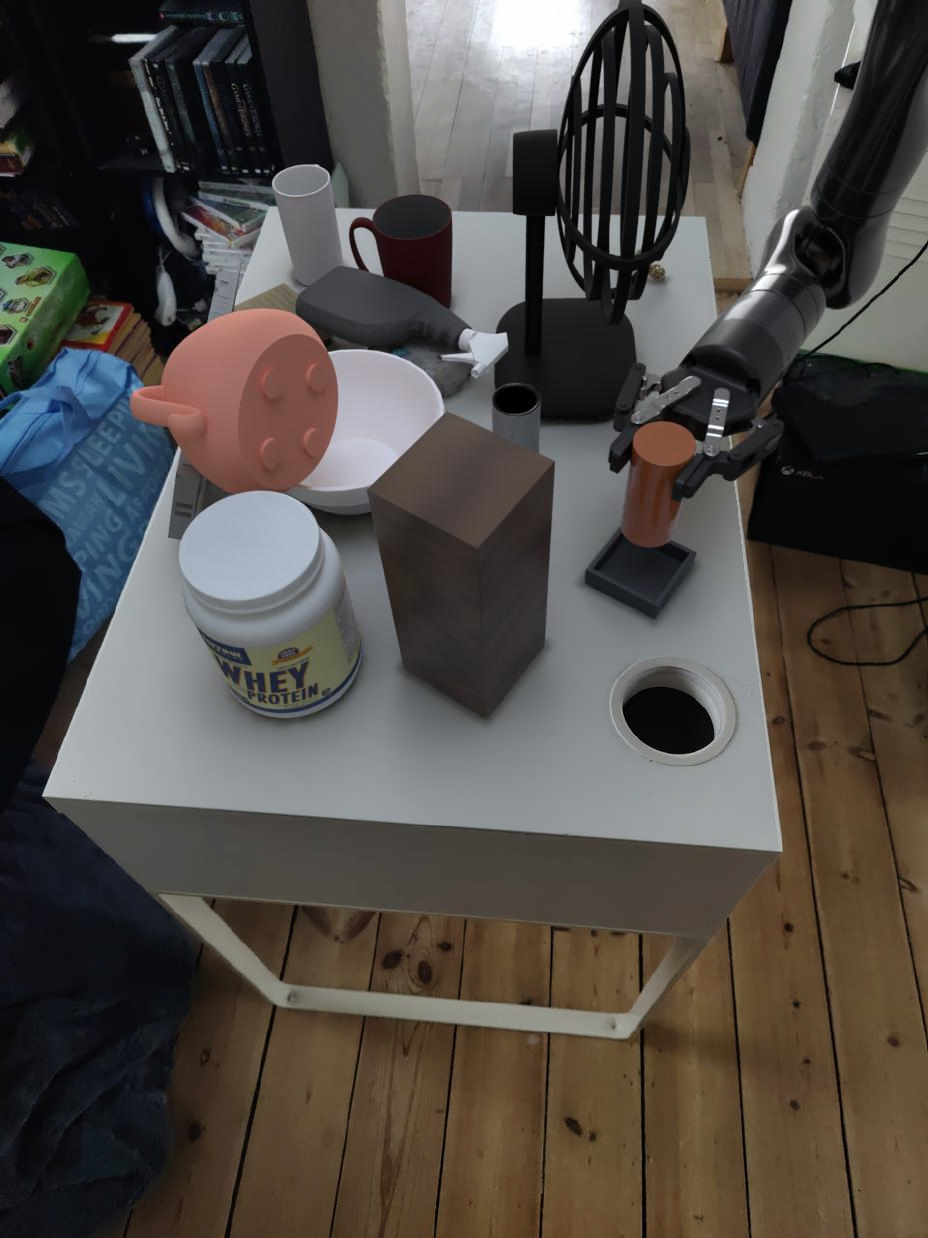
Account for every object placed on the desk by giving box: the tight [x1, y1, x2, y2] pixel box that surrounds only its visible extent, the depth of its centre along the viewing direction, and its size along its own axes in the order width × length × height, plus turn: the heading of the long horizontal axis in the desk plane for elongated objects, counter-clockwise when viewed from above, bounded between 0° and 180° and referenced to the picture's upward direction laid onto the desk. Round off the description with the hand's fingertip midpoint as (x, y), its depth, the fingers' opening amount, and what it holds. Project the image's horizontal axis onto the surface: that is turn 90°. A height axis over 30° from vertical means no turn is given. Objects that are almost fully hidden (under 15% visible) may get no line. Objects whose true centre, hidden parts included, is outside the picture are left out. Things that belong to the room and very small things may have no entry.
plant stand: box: [367, 410, 556, 720], centre depth 66 cm, size 9×9×23 cm
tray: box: [584, 526, 698, 620], centre depth 79 cm, size 7×7×2 cm
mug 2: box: [348, 194, 454, 310], centre depth 100 cm, size 12×9×11 cm
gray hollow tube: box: [491, 383, 541, 454], centre depth 83 cm, size 4×4×10 cm
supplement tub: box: [177, 491, 363, 719], centre depth 69 cm, size 12×12×17 cm
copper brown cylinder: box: [619, 421, 697, 548], centre depth 70 cm, size 5×5×10 cm
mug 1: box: [271, 164, 345, 287], centre depth 105 cm, size 10×7×12 cm, turn 169°
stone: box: [366, 336, 474, 400], centre depth 95 cm, size 15×5×10 cm
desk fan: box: [493, 0, 692, 421], centre depth 82 cm, size 27×18×35 cm, turn 178°
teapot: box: [129, 309, 338, 495], centre depth 73 cm, size 22×16×12 cm
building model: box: [167, 252, 244, 541], centre depth 84 cm, size 25×18×2 cm
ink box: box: [234, 282, 335, 351], centre depth 100 cm, size 10×4×8 cm
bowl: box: [284, 348, 445, 516], centre depth 85 cm, size 19×20×8 cm
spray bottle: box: [295, 265, 508, 379], centre depth 94 cm, size 3×11×24 cm
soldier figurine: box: [632, 245, 666, 281], centre depth 104 cm, size 2×1×4 cm
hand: (645, 478), depth 67 cm, fingers closed on copper brown cylinder, 5 cm apart
